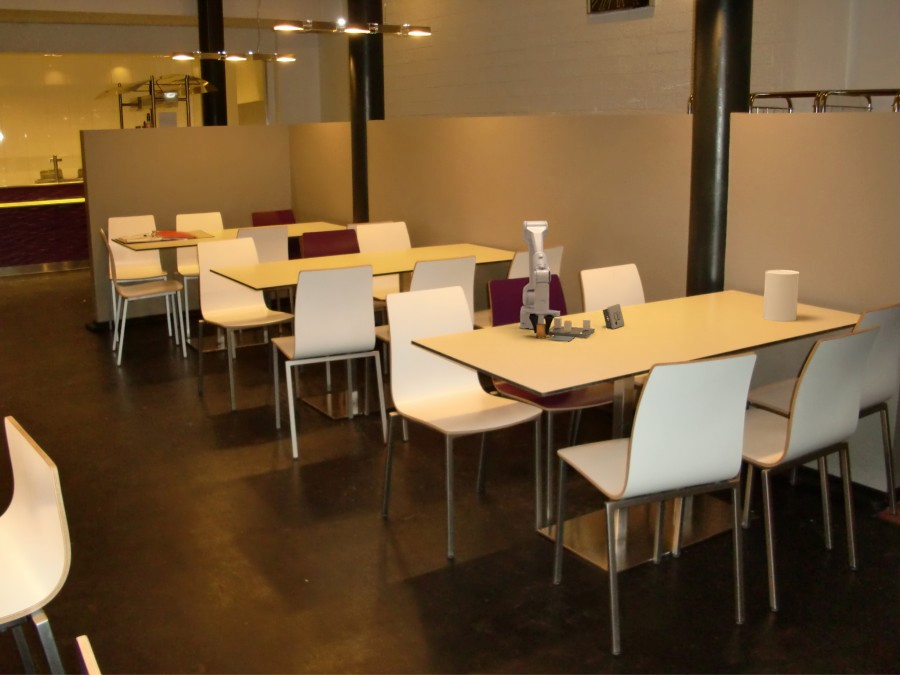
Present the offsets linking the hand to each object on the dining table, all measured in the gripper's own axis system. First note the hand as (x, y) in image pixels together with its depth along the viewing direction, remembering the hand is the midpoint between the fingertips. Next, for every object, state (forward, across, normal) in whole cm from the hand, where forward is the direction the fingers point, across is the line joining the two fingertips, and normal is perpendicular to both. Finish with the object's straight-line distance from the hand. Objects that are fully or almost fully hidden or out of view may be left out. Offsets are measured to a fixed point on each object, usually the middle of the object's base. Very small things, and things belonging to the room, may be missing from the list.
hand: (541, 333), depth 362 cm
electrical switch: (+2, +22, +28) cm, 36 cm away
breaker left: (0, +3, +12) cm, 12 cm away
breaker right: (0, +15, +12) cm, 19 cm away
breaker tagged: (0, +9, +6) cm, 11 cm away
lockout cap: (+1, 0, 0) cm, 1 cm away
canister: (+2, +84, +68) cm, 108 cm away
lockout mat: (+1, +9, -2) cm, 9 cm away
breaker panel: (+1, +9, +9) cm, 13 cm away
